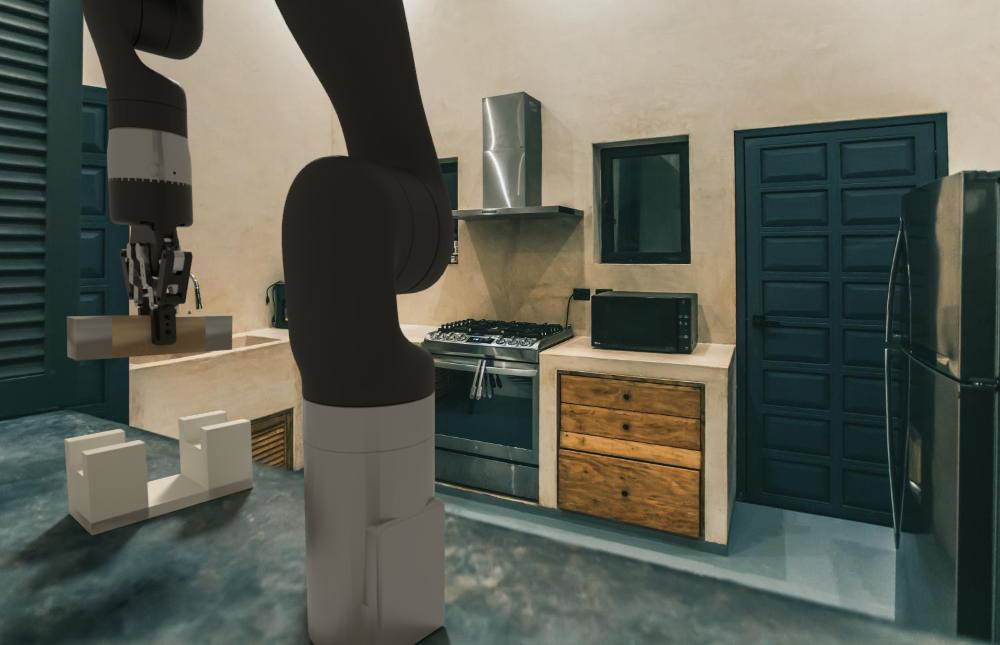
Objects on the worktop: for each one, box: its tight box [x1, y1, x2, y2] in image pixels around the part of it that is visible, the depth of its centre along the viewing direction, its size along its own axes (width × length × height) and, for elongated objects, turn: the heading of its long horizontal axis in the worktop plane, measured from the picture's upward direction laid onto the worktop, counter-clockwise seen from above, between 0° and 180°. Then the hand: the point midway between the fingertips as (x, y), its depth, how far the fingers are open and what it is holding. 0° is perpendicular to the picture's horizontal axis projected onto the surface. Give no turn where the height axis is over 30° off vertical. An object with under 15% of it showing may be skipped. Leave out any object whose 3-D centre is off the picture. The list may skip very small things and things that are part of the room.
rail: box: [66, 313, 233, 362], centre depth 61 cm, size 3×15×4 cm, turn 140°
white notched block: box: [63, 409, 254, 536], centre depth 63 cm, size 8×16×8 cm, turn 140°
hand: (157, 341), depth 62 cm, fingers closed on rail, 3 cm apart
